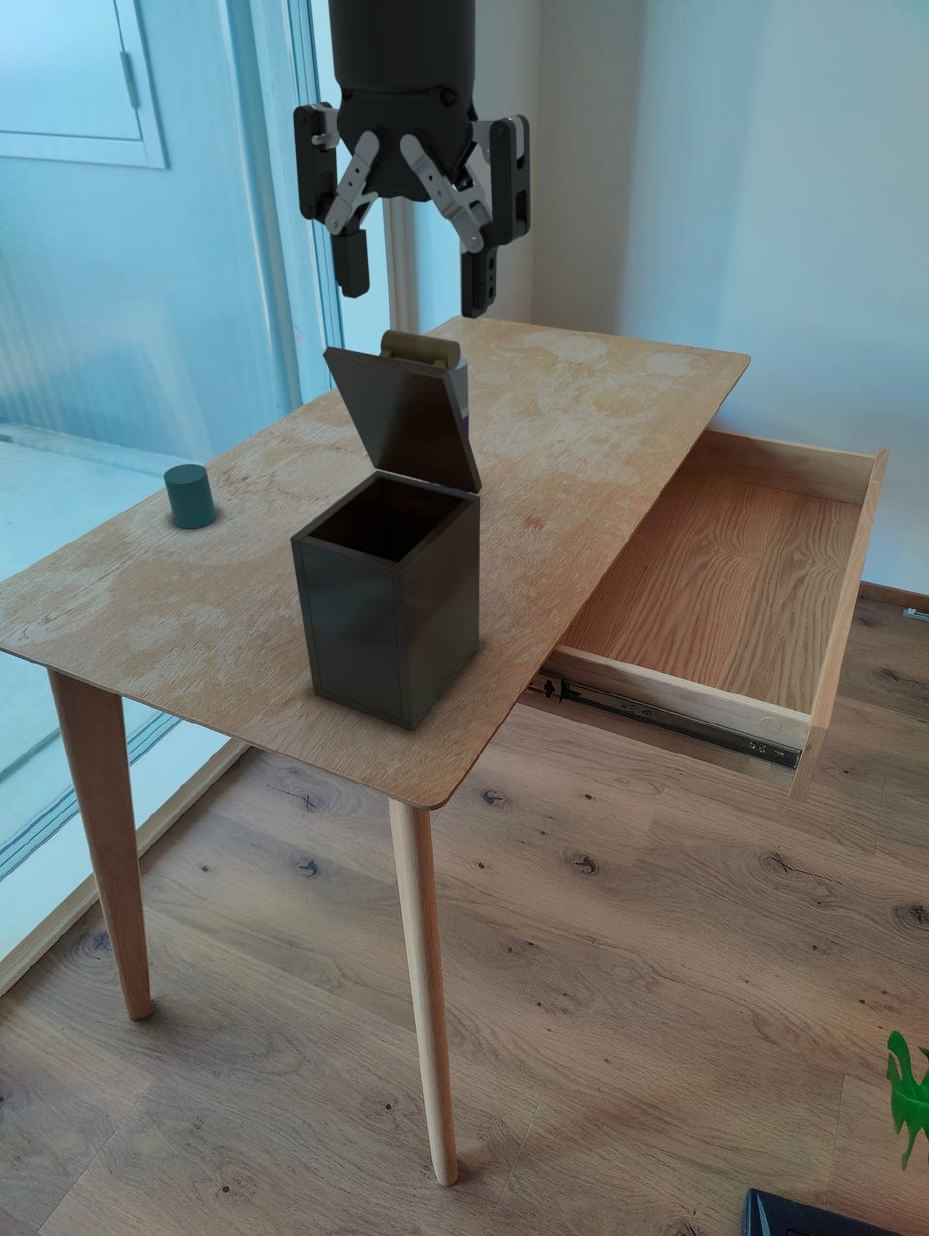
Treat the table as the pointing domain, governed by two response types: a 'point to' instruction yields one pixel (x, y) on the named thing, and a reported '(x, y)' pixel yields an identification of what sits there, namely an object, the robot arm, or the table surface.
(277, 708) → the table surface
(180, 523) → the teal cylinder
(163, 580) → the table surface
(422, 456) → the lid
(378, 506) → the chest
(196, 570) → the table surface
